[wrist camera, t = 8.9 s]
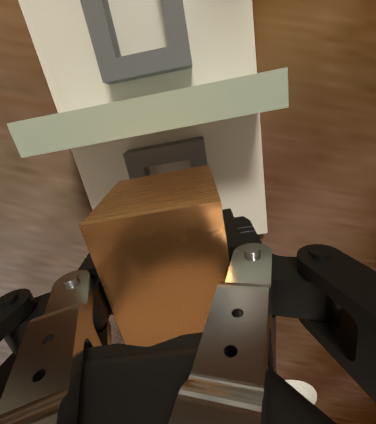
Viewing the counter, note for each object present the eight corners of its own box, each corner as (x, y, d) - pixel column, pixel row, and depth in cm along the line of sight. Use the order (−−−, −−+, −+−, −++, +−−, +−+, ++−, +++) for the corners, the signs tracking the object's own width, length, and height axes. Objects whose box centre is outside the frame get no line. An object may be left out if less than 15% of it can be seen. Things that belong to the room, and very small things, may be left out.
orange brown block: (124, 174, 14) (79, 225, 8) (207, 158, 14) (220, 201, 8) (151, 266, 16) (130, 357, 10) (222, 255, 16) (241, 342, 10)
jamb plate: (5, -63, 13) (-125, -178, 8) (238, -123, 12) (278, -300, 7) (112, 250, 21) (85, 305, 15) (263, 226, 20) (292, 275, 14)
